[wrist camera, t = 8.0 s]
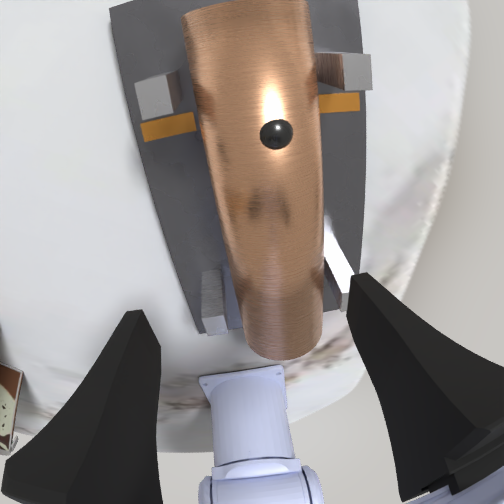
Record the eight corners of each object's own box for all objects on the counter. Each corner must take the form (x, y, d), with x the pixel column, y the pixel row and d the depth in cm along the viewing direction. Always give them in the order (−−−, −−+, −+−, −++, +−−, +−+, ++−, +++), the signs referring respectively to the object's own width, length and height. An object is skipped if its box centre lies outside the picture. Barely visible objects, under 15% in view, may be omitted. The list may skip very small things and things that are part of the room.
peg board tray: (351, 296, 24) (373, 344, 20) (199, 323, 24) (199, 377, 20) (346, -18, 12) (393, -36, 7) (114, 10, 11) (77, -3, 7)
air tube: (306, 294, 23) (335, 350, 18) (238, 311, 22) (255, 373, 18) (285, 12, 12) (334, -4, 8) (180, 25, 12) (181, 6, 7)
